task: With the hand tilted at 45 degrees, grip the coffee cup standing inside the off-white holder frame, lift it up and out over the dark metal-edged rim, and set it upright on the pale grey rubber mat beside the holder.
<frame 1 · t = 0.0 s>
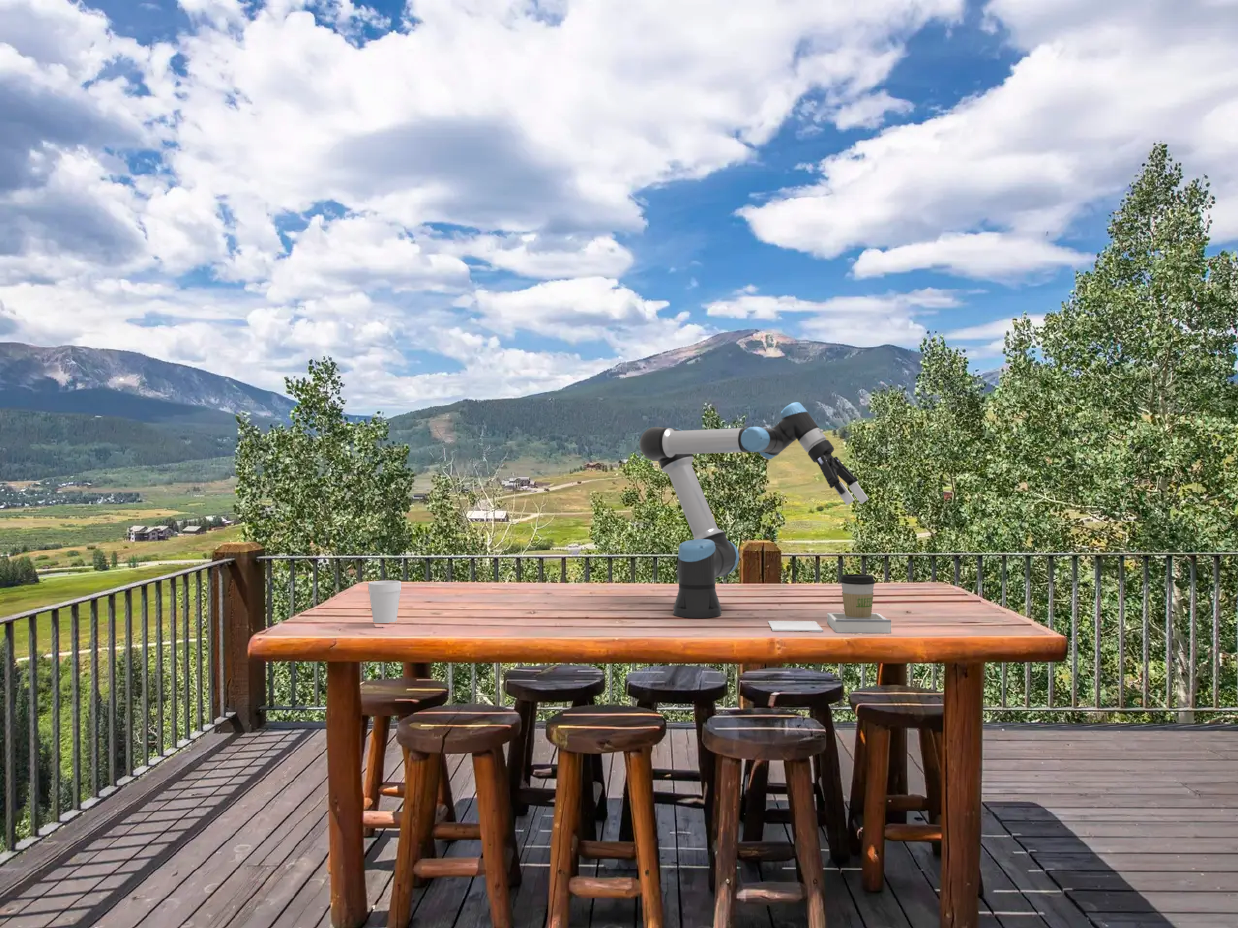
hand: (858, 502, 243), 36 cm above the table, tool tilted 35°, fingers open, 13 cm apart
cup holder: (858, 627, 233), on the table
foam cup: (384, 626, 242), on the table
coffee cup: (858, 628, 233), resting in cup holder
rubber mat: (794, 627, 235), on the table
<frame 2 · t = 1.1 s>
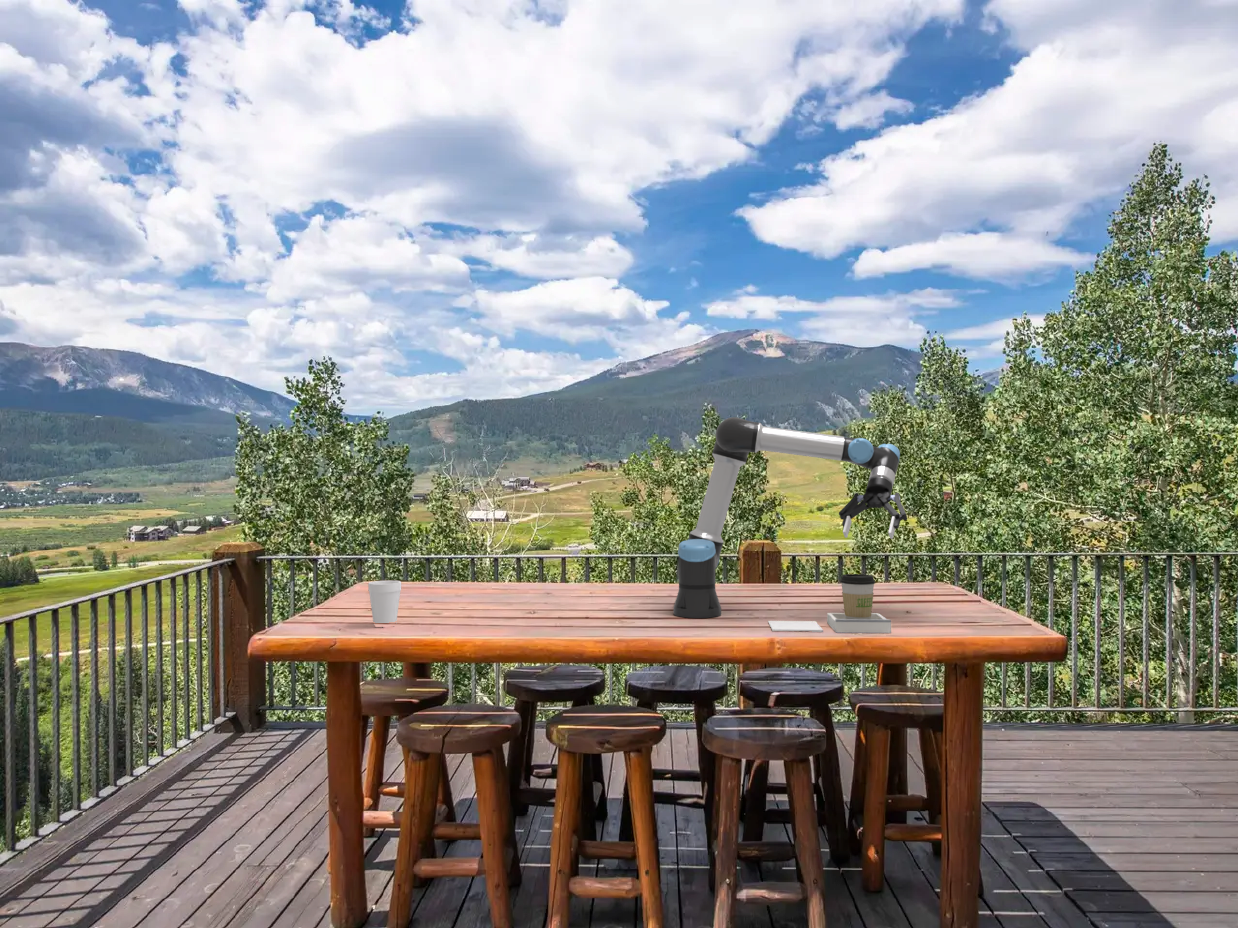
hand: (867, 535, 242), 26 cm above the table, tool tilted 45°, fingers open, 13 cm apart
nothing on the table moved.
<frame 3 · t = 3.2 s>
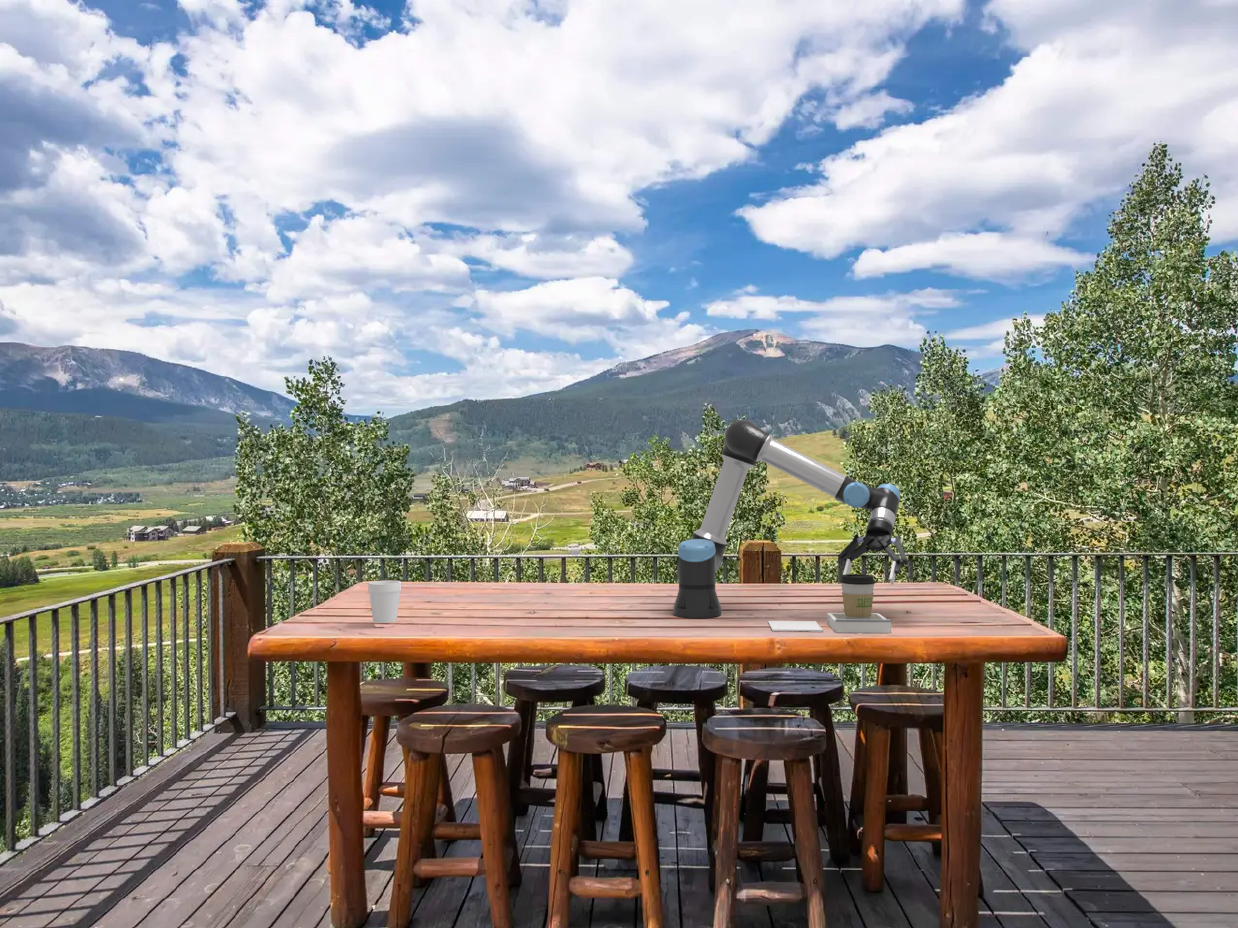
hand: (867, 580, 239), 13 cm above the table, tool tilted 45°, fingers open, 13 cm apart
nothing on the table moved.
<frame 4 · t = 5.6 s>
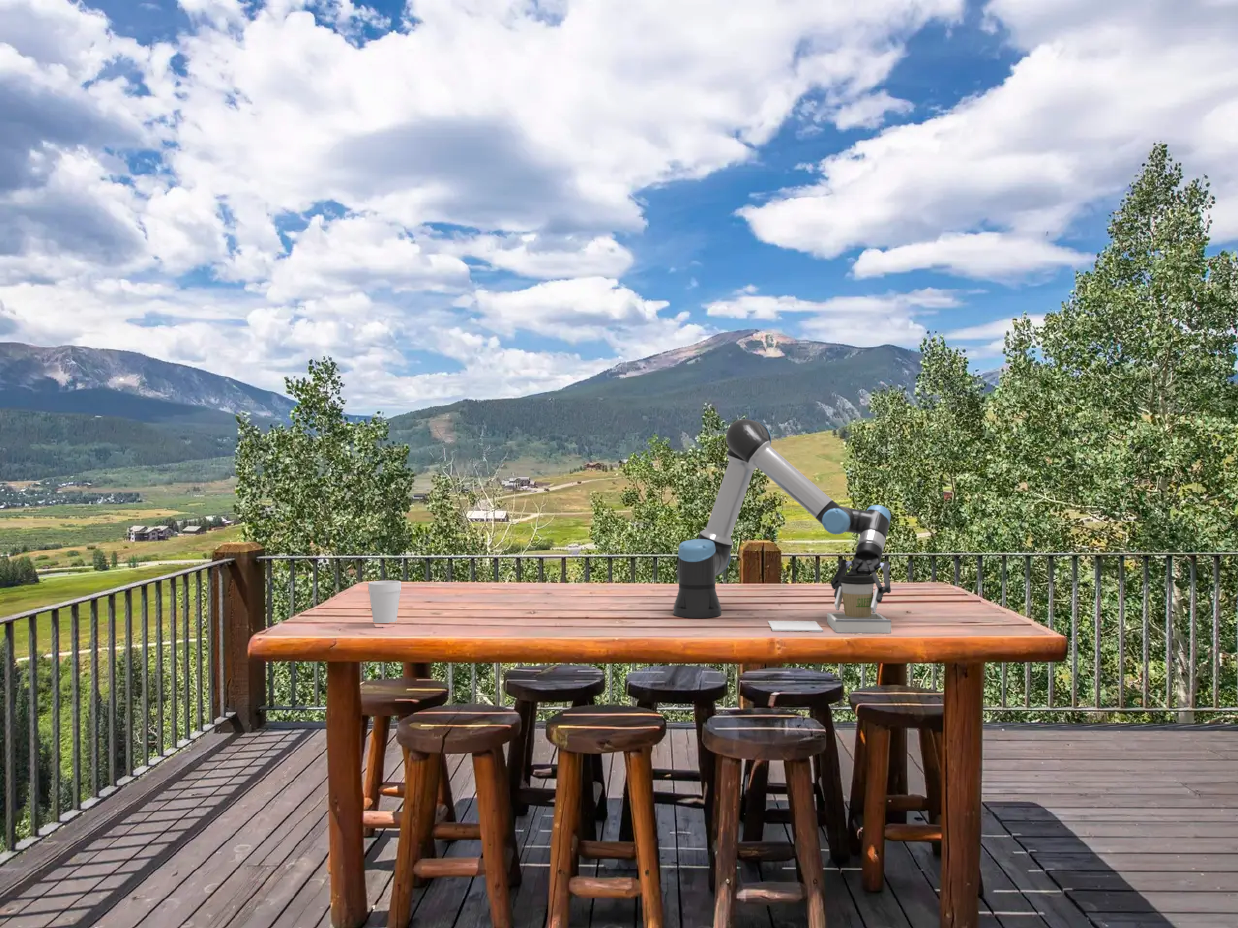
hand: (854, 608, 231), 6 cm above the table, tool tilted 45°, fingers closed on coffee cup, 10 cm apart
coffee cup: (858, 628, 233), resting in cup holder, touching gripper
everything else where it was.
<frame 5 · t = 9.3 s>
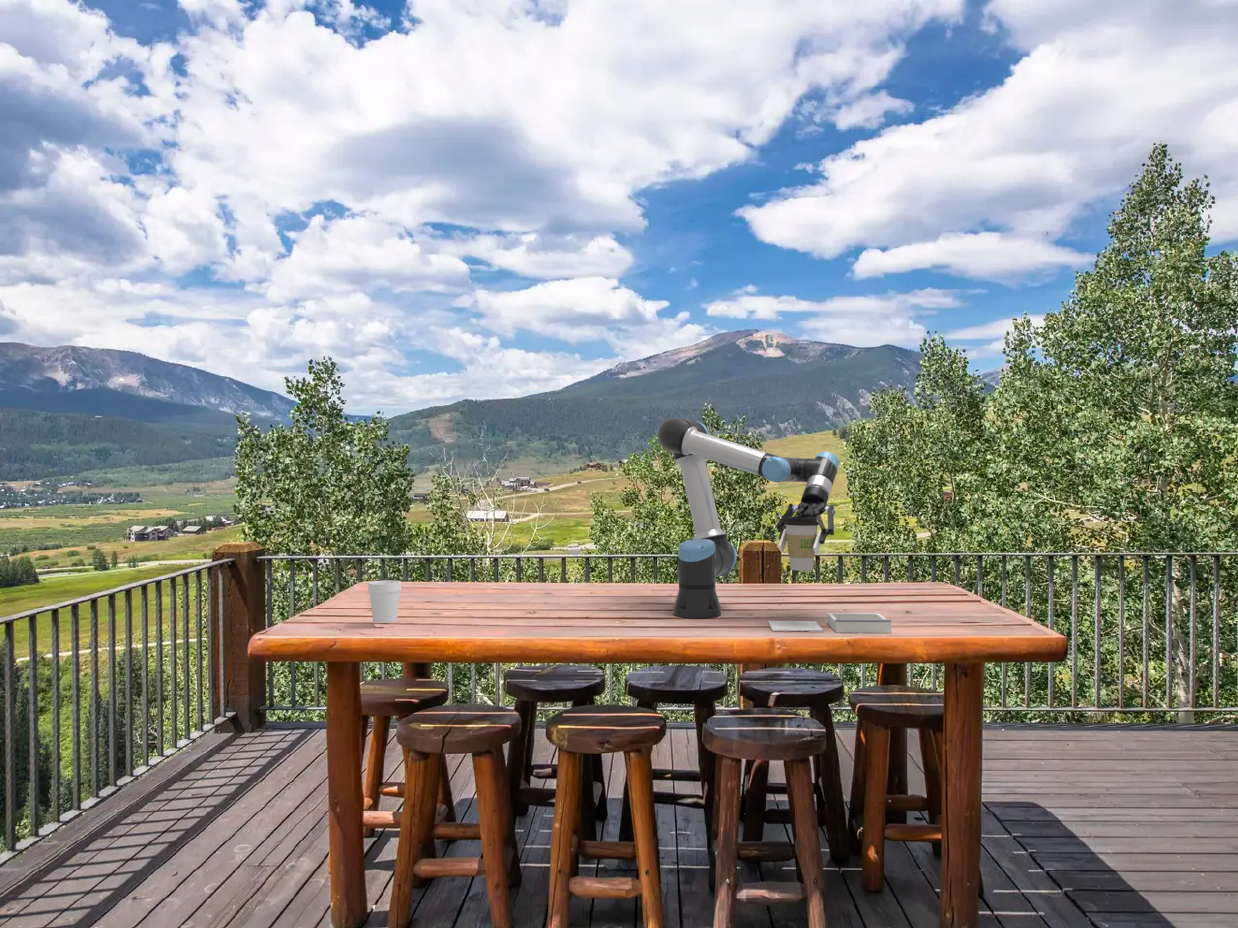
hand: (797, 549, 232), 23 cm above the table, tool tilted 45°, fingers closed on coffee cup, 10 cm apart
coffee cup: (801, 570, 235), point 17 cm above the table, touching gripper
everything else where it was.
when the fingers open (8 cm above the table, at t = 12.9 s): coffee cup drops 1 cm, resting on rubber mat.
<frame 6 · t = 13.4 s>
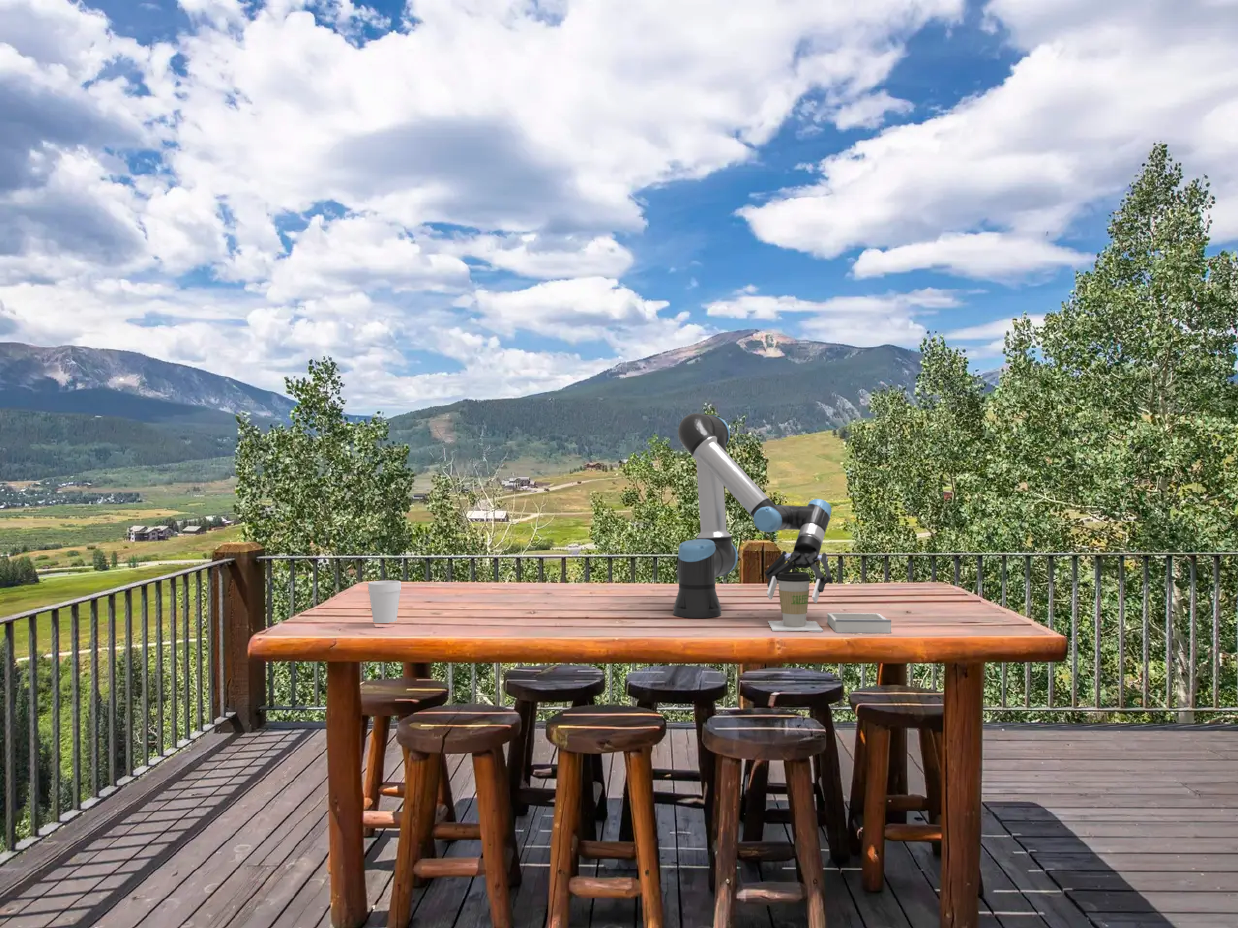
hand: (791, 598, 233), 9 cm above the table, tool tilted 45°, fingers open, 13 cm apart
coffee cup: (794, 625, 235), resting on rubber mat
everything else where it was.
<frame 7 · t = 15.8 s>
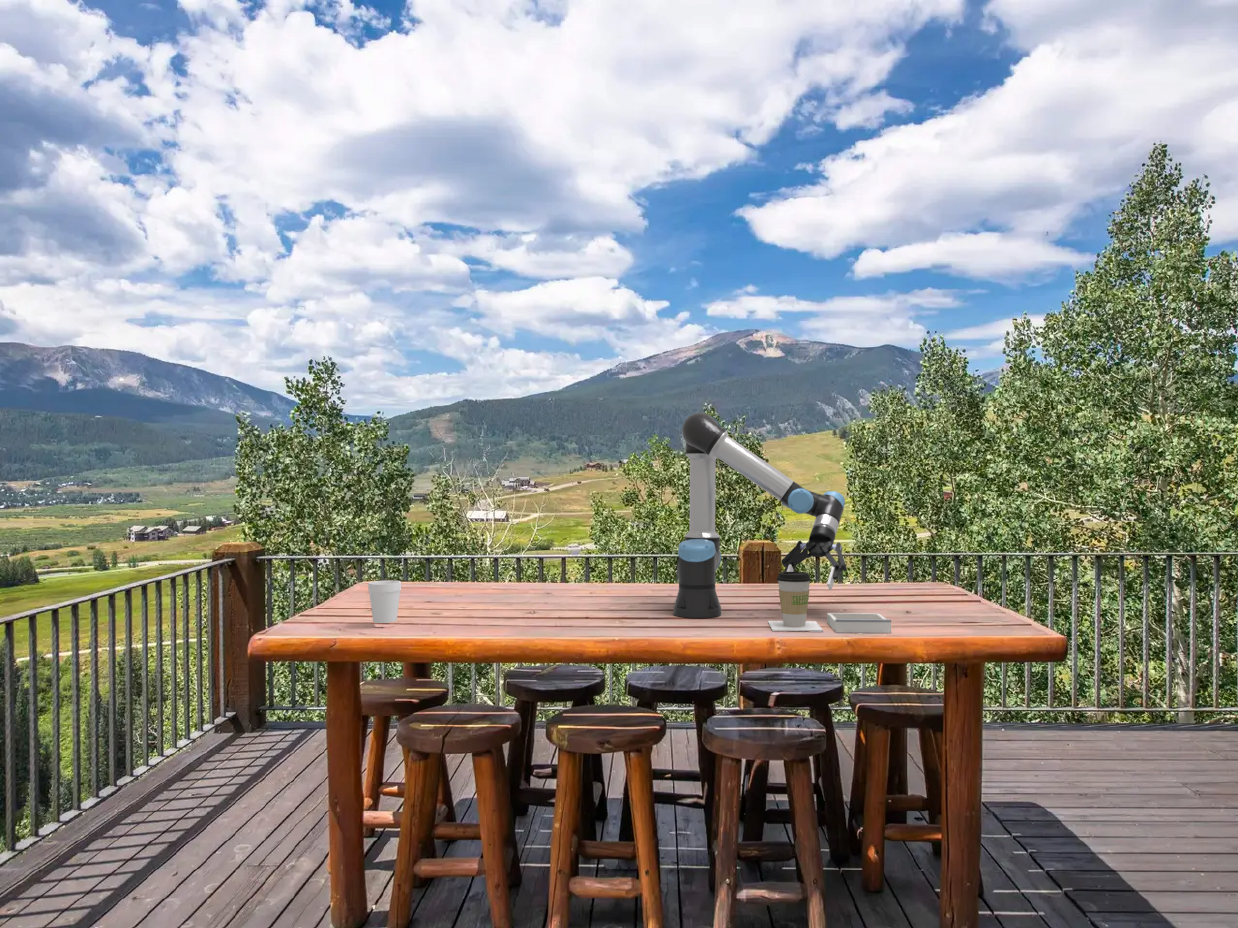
hand: (807, 585, 244), 11 cm above the table, tool tilted 45°, fingers open, 13 cm apart
nothing on the table moved.
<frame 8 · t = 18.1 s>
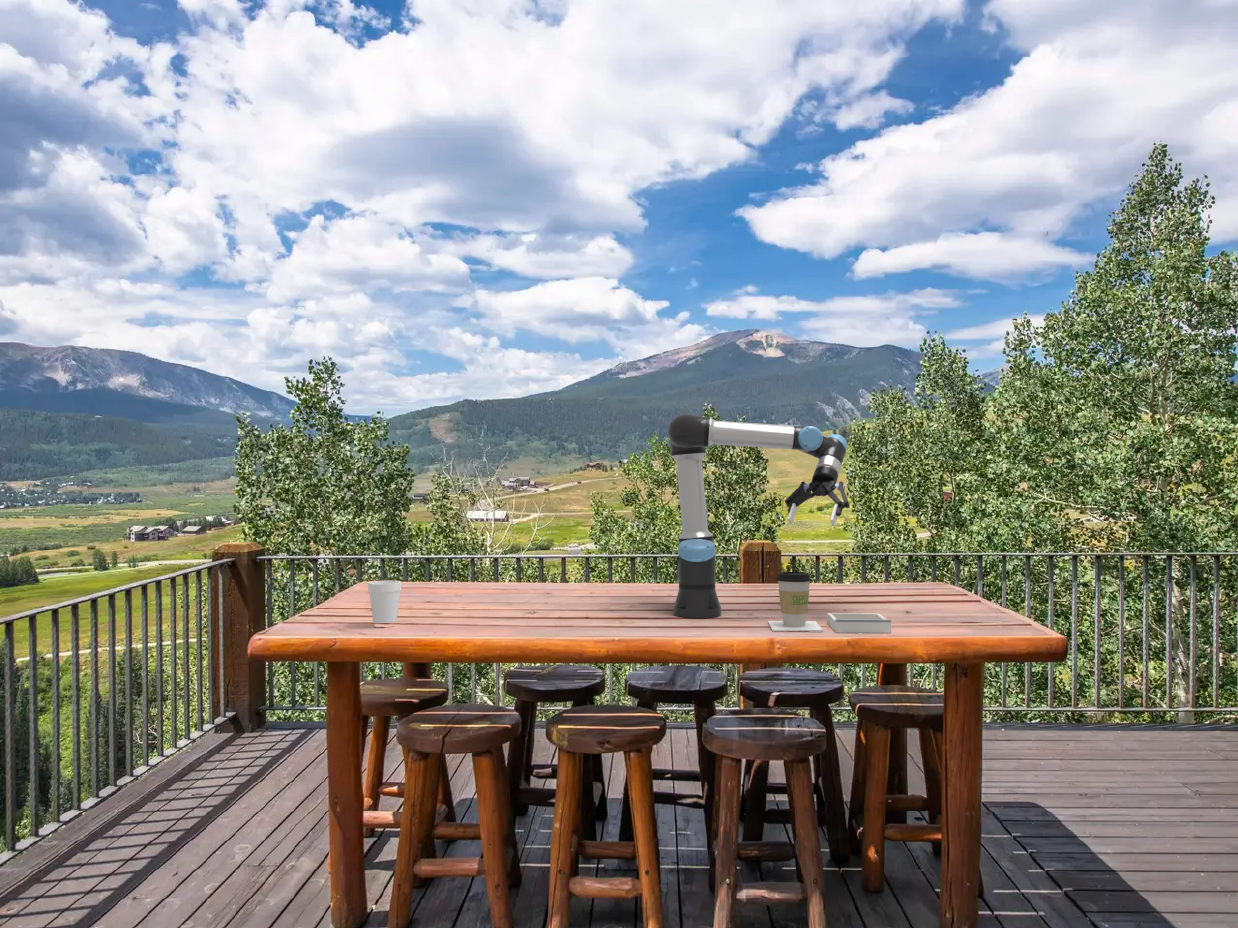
hand: (810, 522, 249), 30 cm above the table, tool tilted 45°, fingers open, 13 cm apart
nothing on the table moved.
at the end: coffee cup inside the target area on the rubber mat (0.2 cm from its centre), point 0.4 cm above the rubber mat's base; coffee cup tilted 0°; the gripper is holding nothing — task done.
